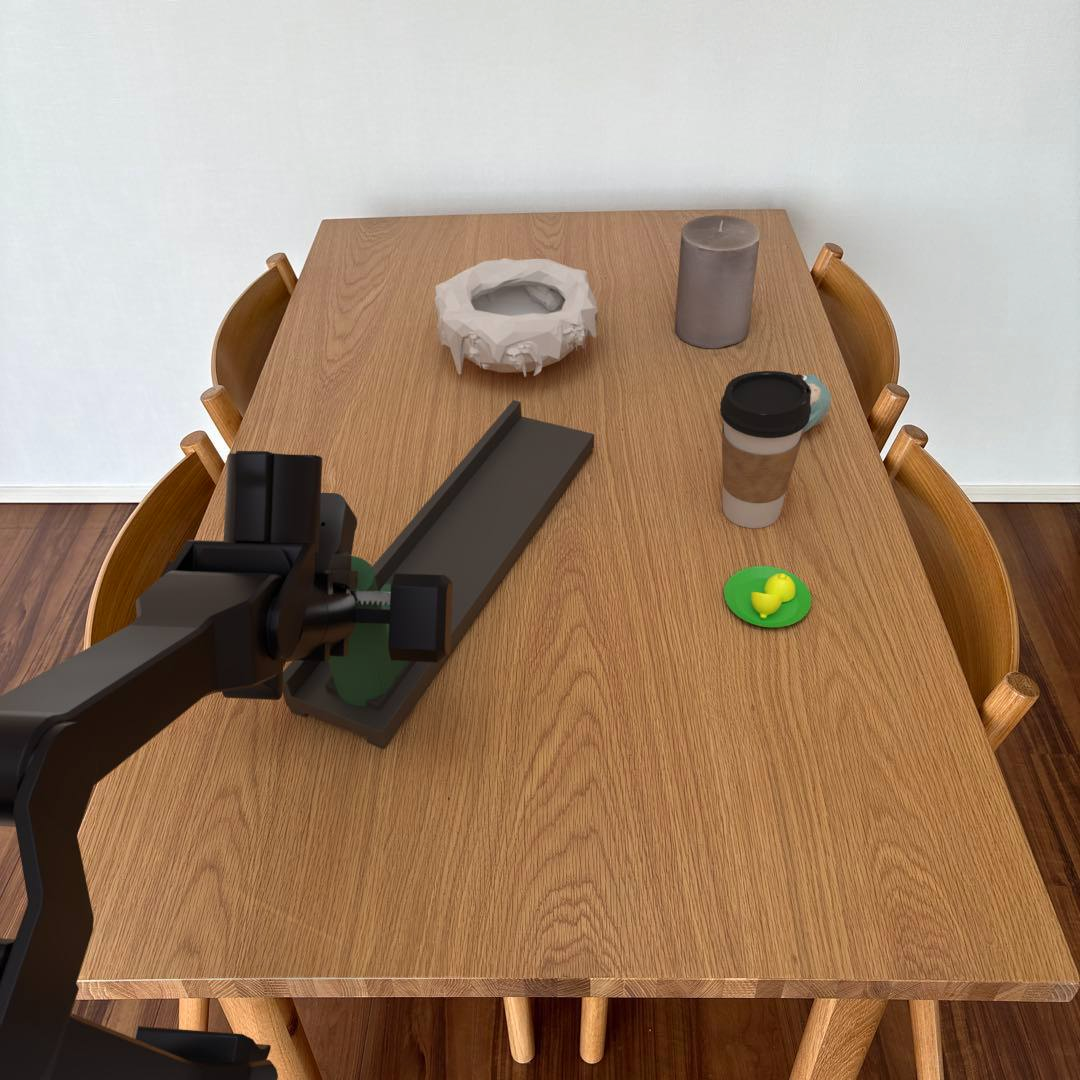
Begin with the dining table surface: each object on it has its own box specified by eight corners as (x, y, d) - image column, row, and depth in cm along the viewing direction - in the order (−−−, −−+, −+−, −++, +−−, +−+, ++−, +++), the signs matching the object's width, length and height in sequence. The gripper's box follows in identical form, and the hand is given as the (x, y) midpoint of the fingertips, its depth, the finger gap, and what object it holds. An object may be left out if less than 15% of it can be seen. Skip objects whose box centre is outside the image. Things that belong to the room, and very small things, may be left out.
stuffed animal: (717, 355, 112) (824, 340, 109) (724, 406, 116) (826, 392, 114) (720, 409, 104) (835, 393, 101) (727, 460, 108) (837, 447, 106)
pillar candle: (686, 307, 131) (693, 200, 121) (756, 318, 128) (770, 210, 118) (665, 342, 125) (670, 232, 114) (738, 355, 122) (751, 244, 111)
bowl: (477, 306, 134) (471, 238, 127) (618, 327, 128) (619, 257, 121) (412, 386, 120) (401, 314, 113) (567, 413, 114) (565, 340, 107)
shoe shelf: (386, 750, 79) (377, 717, 76) (288, 711, 83) (276, 678, 80) (594, 451, 108) (594, 419, 105) (515, 431, 112) (513, 399, 109)
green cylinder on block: (377, 714, 79) (350, 611, 71) (323, 694, 81) (291, 591, 72) (441, 625, 86) (424, 521, 78) (391, 608, 88) (368, 505, 80)
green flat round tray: (805, 639, 86) (809, 618, 84) (716, 622, 88) (719, 601, 86) (814, 579, 92) (819, 557, 90) (731, 564, 94) (733, 543, 92)
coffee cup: (794, 540, 96) (816, 417, 86) (708, 533, 97) (721, 412, 87) (791, 487, 102) (812, 366, 92) (711, 481, 103) (723, 362, 93)
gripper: (432, 497, 61) (472, 514, 77) (154, 489, 63) (249, 507, 79) (425, 671, 61) (467, 652, 77) (146, 658, 63) (242, 642, 78)
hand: (355, 609), depth 78 cm, fingers open, 9 cm apart
